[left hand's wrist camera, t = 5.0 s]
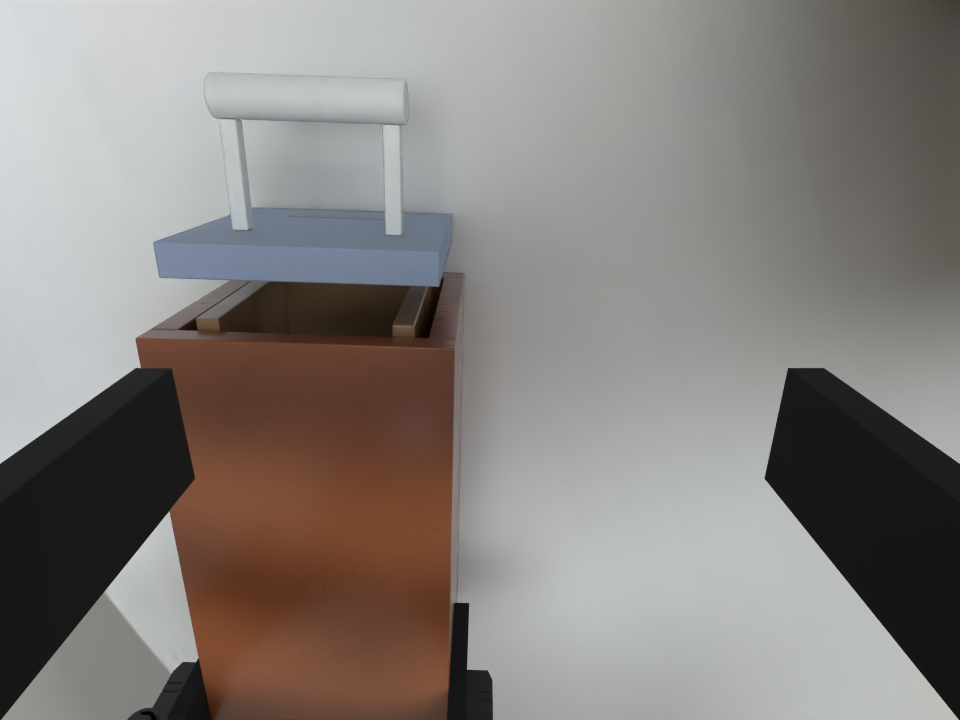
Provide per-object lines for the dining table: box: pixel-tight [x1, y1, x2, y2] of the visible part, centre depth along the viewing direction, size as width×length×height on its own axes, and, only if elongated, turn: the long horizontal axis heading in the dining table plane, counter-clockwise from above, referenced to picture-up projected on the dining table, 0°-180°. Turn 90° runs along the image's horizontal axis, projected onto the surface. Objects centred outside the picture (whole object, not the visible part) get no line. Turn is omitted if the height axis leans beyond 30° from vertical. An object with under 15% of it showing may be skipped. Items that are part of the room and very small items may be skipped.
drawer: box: [153, 72, 452, 338], centre depth 26 cm, size 25×9×9 cm, turn 178°
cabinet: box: [136, 273, 464, 720], centre depth 28 cm, size 21×10×11 cm, turn 178°
